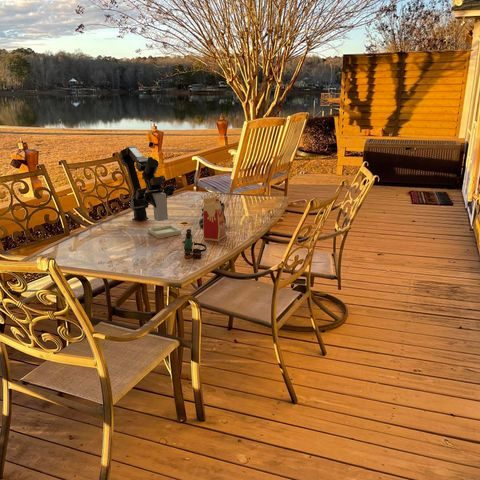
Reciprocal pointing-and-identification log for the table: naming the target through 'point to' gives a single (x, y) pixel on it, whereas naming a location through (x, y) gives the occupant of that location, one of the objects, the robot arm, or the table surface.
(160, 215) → the post
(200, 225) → the lucky cat figurine
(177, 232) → the tray
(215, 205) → the milk carton
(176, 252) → the butter knife
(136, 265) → the table surface
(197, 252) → the binoculars
